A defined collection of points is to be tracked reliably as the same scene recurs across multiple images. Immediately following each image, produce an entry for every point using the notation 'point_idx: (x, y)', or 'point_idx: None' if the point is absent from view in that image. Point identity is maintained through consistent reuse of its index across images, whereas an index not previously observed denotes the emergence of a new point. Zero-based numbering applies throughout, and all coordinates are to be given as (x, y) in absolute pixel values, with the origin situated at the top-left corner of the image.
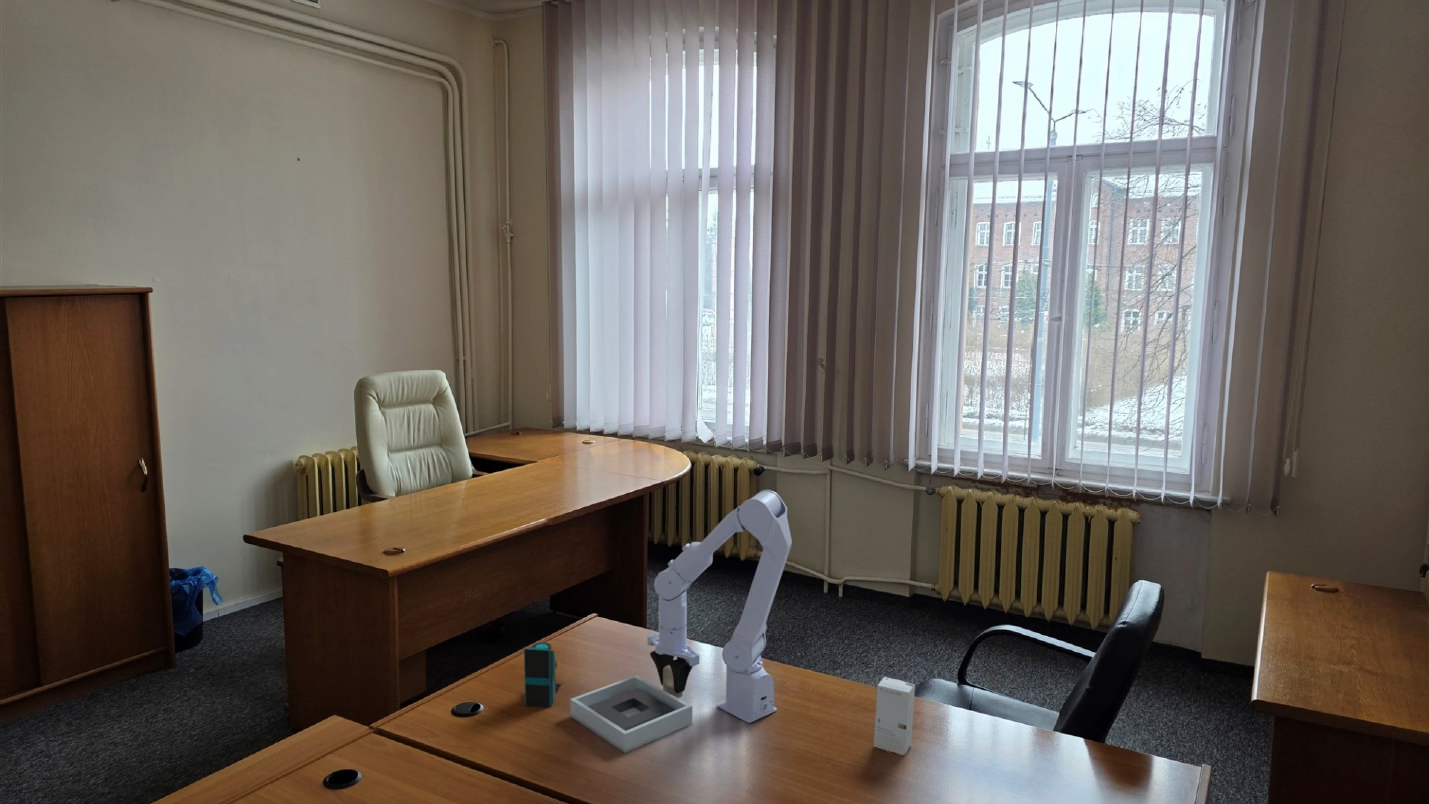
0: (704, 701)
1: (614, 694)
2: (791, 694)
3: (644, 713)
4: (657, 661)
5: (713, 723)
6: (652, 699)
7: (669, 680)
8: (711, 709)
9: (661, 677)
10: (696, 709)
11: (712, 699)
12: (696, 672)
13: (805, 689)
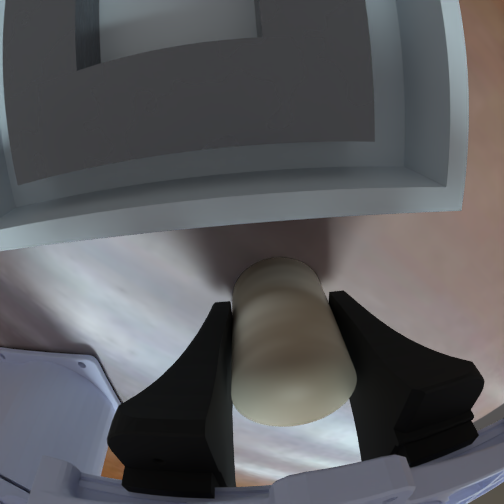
0: (149, 350)
1: (413, 33)
2: (104, 463)
3: (50, 17)
4: (393, 371)
5: (5, 281)
6: (162, 126)
7: (257, 324)
8: (86, 333)
9: (344, 313)
10: (104, 297)
11: (151, 373)
12: (347, 414)
13: (116, 478)
